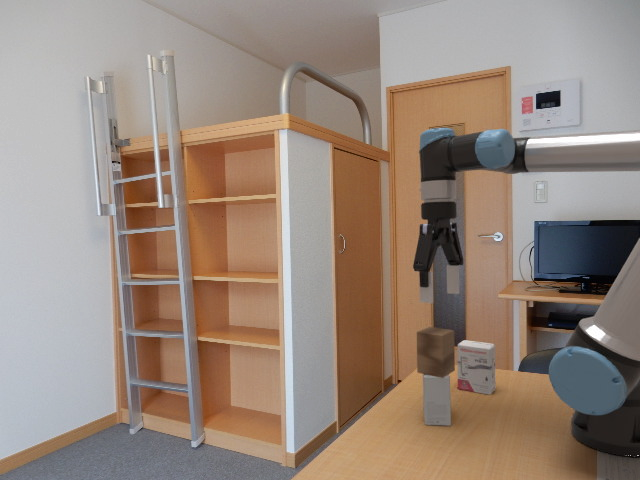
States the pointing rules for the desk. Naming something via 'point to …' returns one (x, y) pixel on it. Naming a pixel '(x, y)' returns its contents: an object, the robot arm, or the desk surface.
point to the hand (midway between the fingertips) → (440, 298)
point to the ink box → (476, 366)
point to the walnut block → (435, 352)
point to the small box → (436, 400)
